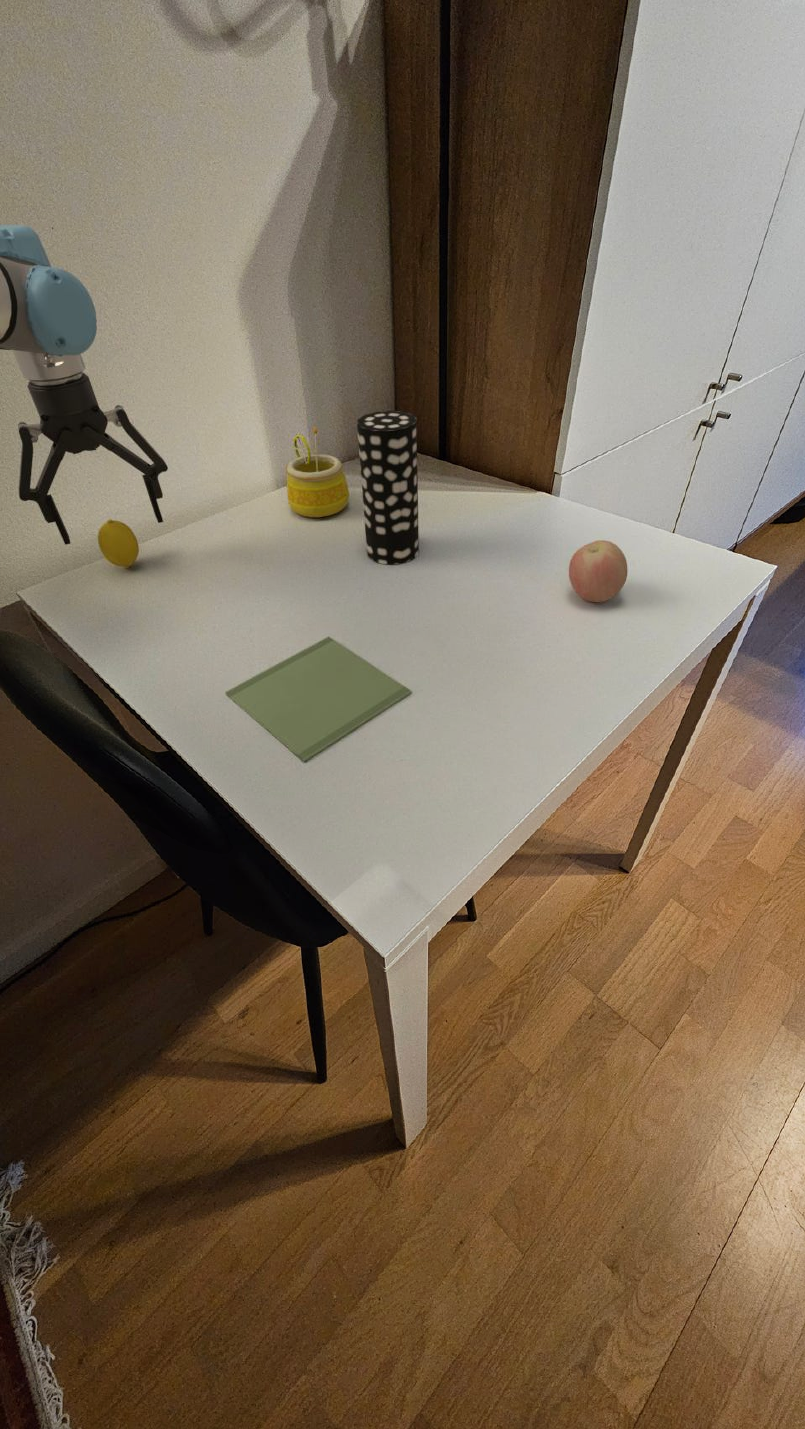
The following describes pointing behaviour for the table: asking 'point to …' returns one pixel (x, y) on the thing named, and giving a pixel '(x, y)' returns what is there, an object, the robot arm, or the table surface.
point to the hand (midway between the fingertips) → (114, 529)
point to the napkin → (317, 697)
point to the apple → (598, 571)
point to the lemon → (118, 543)
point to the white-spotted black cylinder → (389, 485)
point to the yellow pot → (315, 483)
